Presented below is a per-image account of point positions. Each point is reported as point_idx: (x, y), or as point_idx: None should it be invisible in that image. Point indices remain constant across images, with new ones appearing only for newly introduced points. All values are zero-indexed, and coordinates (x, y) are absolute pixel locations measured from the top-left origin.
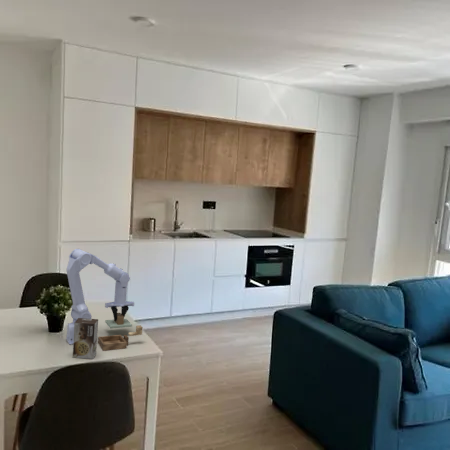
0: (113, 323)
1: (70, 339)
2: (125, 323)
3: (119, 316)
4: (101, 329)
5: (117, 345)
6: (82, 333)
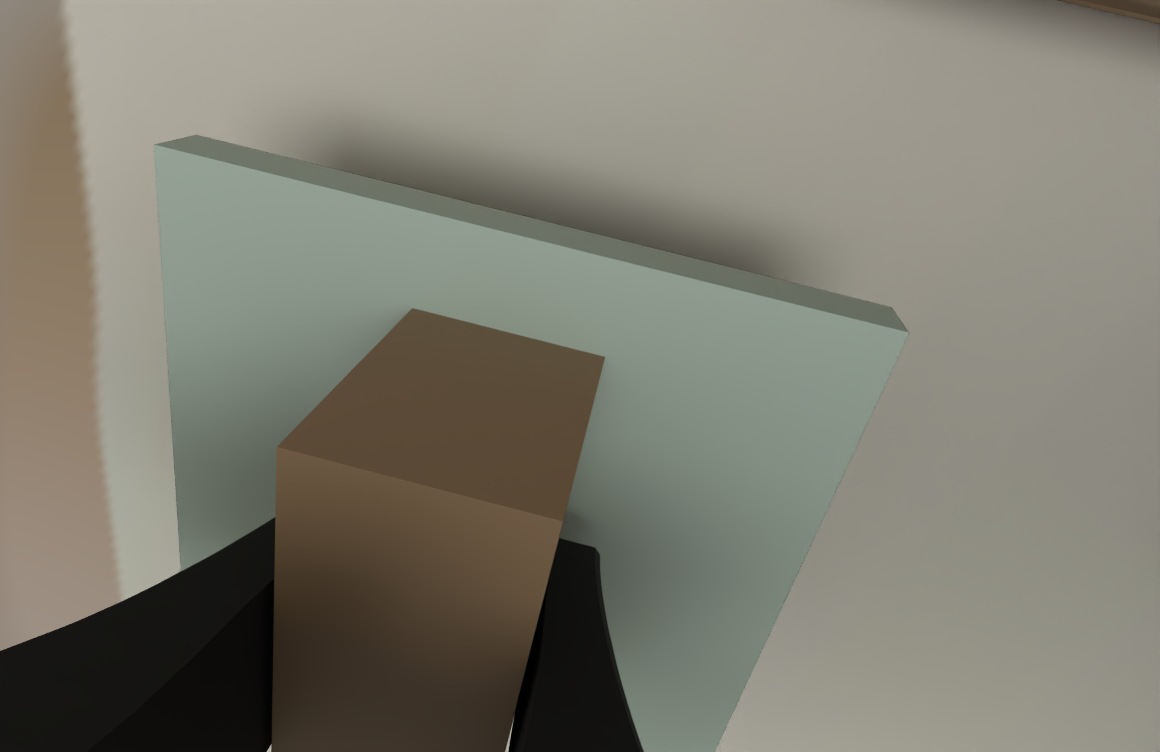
0: (651, 514)
1: None
2: (321, 353)
3: (460, 565)
4: None
5: None
6: None
